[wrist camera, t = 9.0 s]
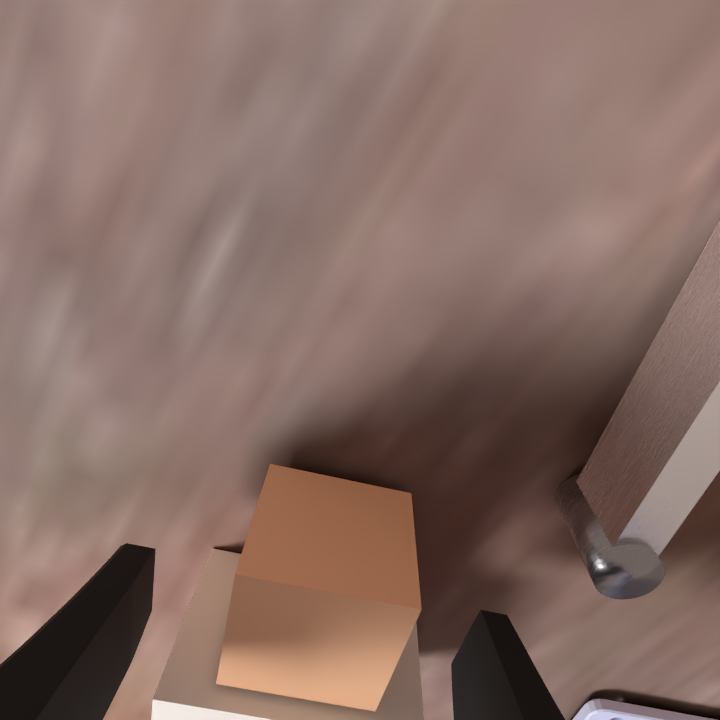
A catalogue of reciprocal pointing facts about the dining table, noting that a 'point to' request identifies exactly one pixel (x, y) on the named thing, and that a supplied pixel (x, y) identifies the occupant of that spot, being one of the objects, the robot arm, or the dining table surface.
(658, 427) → the bar
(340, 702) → the light orange square block
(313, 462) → the dining table surface
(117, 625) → the robot arm
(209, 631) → the socket block
